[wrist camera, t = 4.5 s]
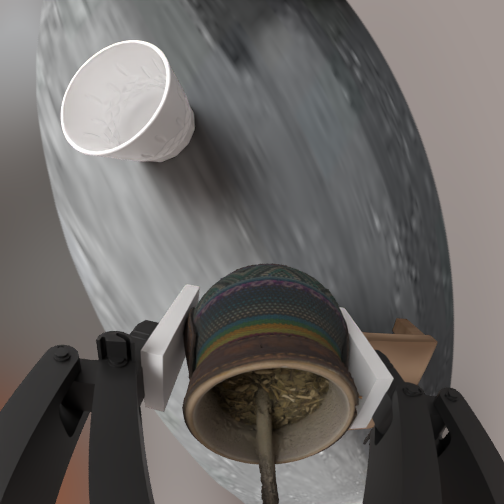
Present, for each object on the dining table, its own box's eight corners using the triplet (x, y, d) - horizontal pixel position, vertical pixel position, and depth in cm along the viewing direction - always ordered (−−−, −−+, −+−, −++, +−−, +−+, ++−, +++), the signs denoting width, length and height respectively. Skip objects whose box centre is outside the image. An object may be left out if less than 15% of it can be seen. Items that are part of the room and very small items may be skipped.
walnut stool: (319, 308, 25) (336, 338, 19) (409, 317, 26) (437, 342, 20) (293, 393, 28) (300, 431, 22) (376, 394, 28) (393, 425, 22)
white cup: (219, 112, 22) (198, 62, 12) (169, 184, 23) (117, 179, 13) (154, 78, 21) (108, 29, 11) (109, 145, 22) (43, 126, 12)
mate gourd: (320, 235, 14) (440, 334, 4) (333, 355, 15) (390, 491, 6) (183, 263, 14) (82, 392, 4) (219, 376, 16) (198, 520, 6)
